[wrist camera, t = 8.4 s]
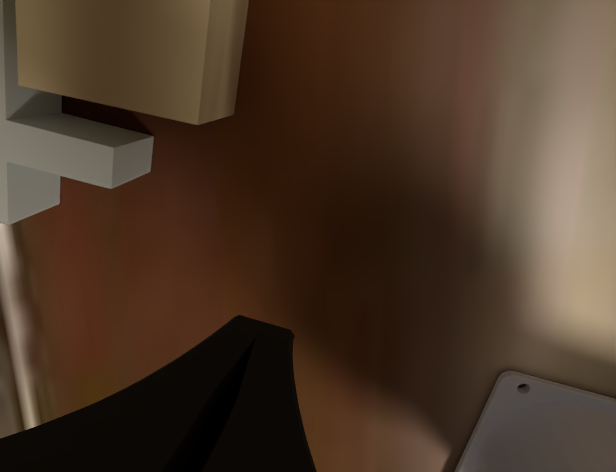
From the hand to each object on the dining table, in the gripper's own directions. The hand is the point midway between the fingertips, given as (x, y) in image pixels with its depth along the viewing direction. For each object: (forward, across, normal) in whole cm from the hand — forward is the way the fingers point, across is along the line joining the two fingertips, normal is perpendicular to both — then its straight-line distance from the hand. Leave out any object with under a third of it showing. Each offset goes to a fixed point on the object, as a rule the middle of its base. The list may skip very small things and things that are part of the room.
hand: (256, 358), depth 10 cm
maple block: (+9, +7, -7) cm, 13 cm away
